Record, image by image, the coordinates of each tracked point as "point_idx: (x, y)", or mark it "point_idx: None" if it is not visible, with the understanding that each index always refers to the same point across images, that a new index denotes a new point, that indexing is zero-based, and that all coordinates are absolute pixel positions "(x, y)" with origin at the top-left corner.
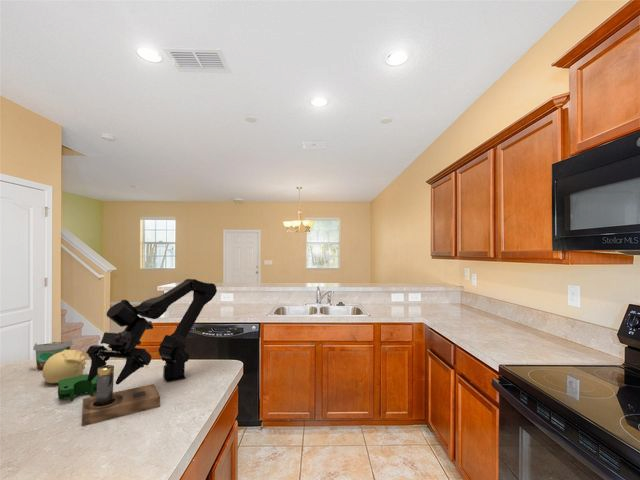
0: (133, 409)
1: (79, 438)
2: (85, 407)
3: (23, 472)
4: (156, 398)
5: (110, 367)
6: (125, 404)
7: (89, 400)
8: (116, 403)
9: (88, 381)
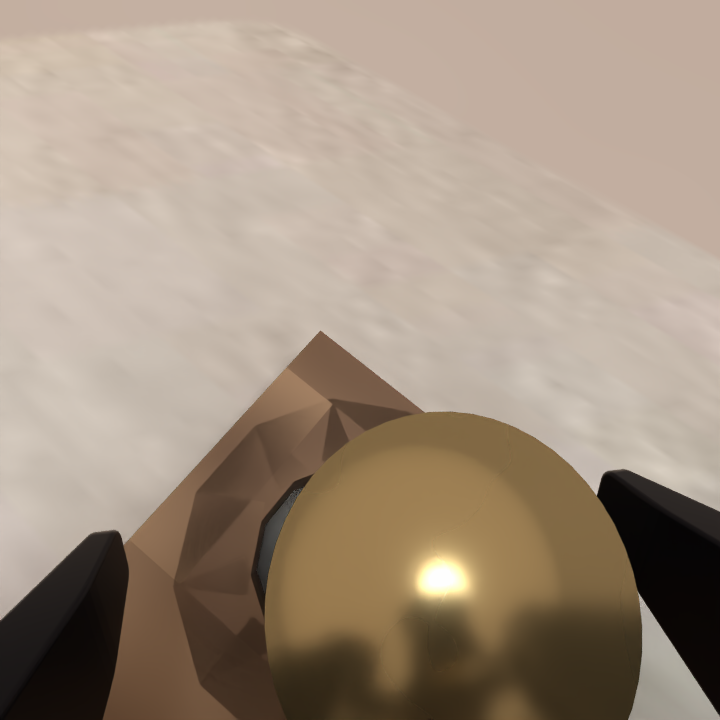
0: None
1: (199, 255)
2: None
3: (209, 31)
4: None
5: (338, 639)
6: None
7: None
8: (202, 579)
9: (606, 488)
